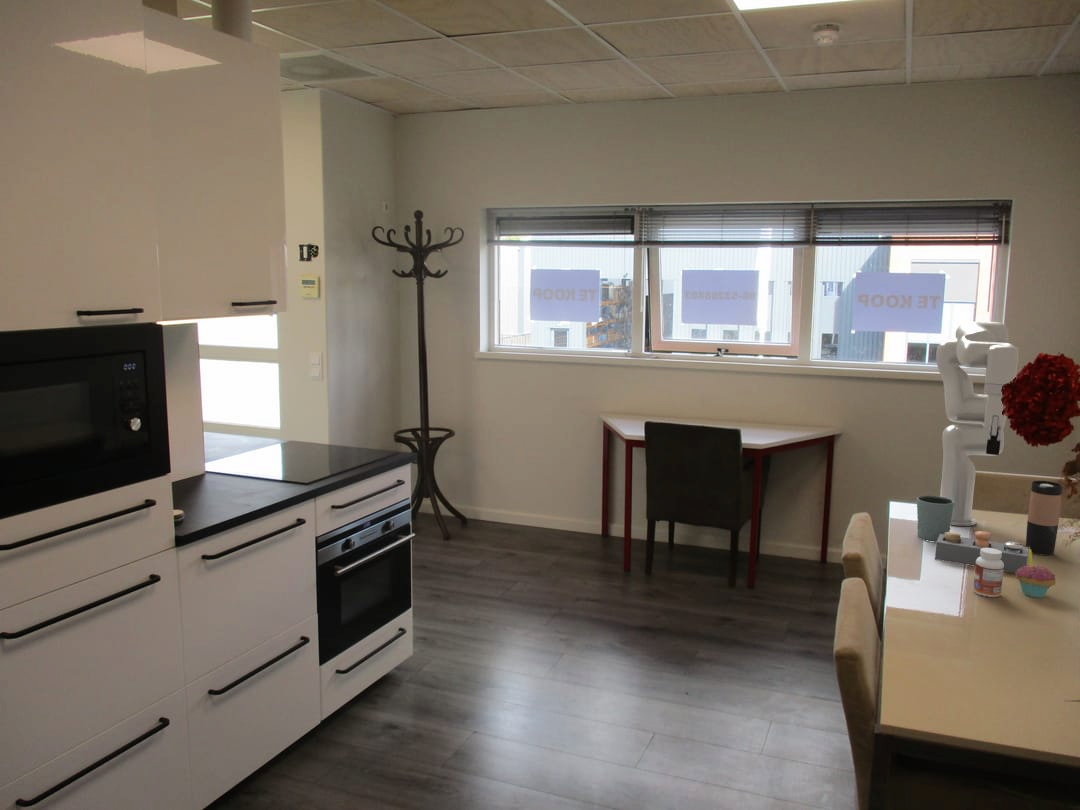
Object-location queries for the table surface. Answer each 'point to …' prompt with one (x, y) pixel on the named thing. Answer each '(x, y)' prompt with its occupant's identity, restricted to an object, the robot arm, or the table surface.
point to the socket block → (977, 553)
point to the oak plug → (952, 537)
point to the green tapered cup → (933, 516)
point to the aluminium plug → (1013, 546)
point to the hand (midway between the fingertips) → (992, 453)
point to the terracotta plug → (982, 538)
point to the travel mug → (1043, 517)
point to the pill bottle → (988, 573)
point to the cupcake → (1034, 579)
